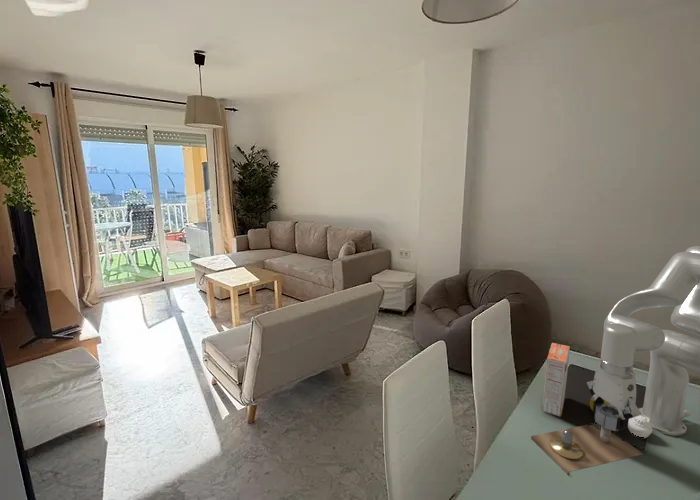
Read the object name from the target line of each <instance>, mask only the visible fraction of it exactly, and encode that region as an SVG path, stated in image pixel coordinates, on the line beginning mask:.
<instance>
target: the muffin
mask: <svg viewBox="0 0 700 500" xmlns="http://www.w3.org/2000/svg"><path fill="white" fill-rule="evenodd" d="M627 429H628V430H629V432H630V433H631V434H632V433H633V434H634V435H633V434H632V435H633V436H635V435H636V436H635V437H637V436H639V437H644V438H643V439H647V438H648V437H650V435H651V434H652V433H653V427H651V426H650V425H649V423H648V420H647V419H646V418H645V417H643V416H641V415H640V416H637V417H633V418H629V421H628V427H627ZM639 437H638V438H639Z"/></svg>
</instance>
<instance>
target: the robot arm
mask: <svg viewBox="0 0 700 500" xmlns="http://www.w3.org/2000/svg"><path fill="white" fill-rule="evenodd" d="M670 307H674V309H673V311H672V312H671V316H670V322H671V324H672V325H673V326H674V327H676V328H677V329H679V330H682V331H685V332H688V333H691V334H693V335H695V336H699V337H700V245H695V246H693V245H692V246H690V247H688V248H687V249H686V250H685V251H680V252H676V253H675V254H673V255H672V256H671V258H670V259H669V261H667V263H666V264H665V266H664V267H663V268H662V270H661V271H660V272H659V274H658V275H657V277H656V278H655V279H654V280H653V282H652V284H651V285H650V286H649V287H647V288H645V289H642V290H638V291H636V292H634V293H631V294H629V295H627V296H625V297H623V298H622V299H620V300H619V301H617V302H616V303H615V305H614V306H613V307H612V308H611V310H610V312H609V313H608V314H607V315H606V318H605V319H604V323H603V334H602V335H603V336H602V341H601V342H602V345H601V351H600V353H601V354H600V362H599V364H598V365H597V367H596V370H595V373H594V377H593V380H589V381H587V382H586V384H587V386H588V389H589V392H590V394H591V397H592V399H593V400H594V404H593V411H592V413H594V414H595V408H596V404H600V403H604V400H605V401H607V402H609V403H610V404H611V405H613V406H615V407H616V408H617V409H618V412H619V415H620V417H618V419H617V426H616V428H617V430H619V431H622V430H623V431H624V430H626V429H628V421H629V419H631V418H633V417H637V416H640V415H641V416H643V417H645V418H646V419H647V420H648V423H649V425H650V426H651V427H652V429H653V430H654V429H655V430H656V431H657V432H658V433H661V434H664V435H668V436H673V437H675V436H676V437H677V436H684V435H685V434H686V433H687V429H688V428H687V425H686V424H685V423H684V422H683V419H684V418H686V417H690V416H691V411H689V410H688V409H684V408H685V404H686V399H687V394H688V389H689V388H688V387H689V383H690V378H689V377H690V376H689V373H688V371H687V370H689V371H691V372H695V373H697V374H699V375H700V339H699V338H696V337H693V336H690V335H688V334H684V333H681V332H678V331H674V330H669V329H661V328H660V327H658V326H655V325H653V324H651V323H647V322H644V321H642V320H639V319H636V318H633V317H631V315H633V314H634V313H636V312H638V311H641V310H644V309H654V308H656V309H657V308H670ZM636 352H649V353H650V361H649V369H648V375H647V381H646V386H645V392H644V393H645V394H644V399H643V405H642V407H638V406H637V405H636V403H637V383H636V375H637V373H636V371H634V363H635V361H634V360H635V354H636ZM603 399H604V400H603ZM623 411H624V412H625V414H624V412H623Z"/></svg>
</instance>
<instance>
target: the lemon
mask: <svg viewBox="0 0 700 500" xmlns="http://www.w3.org/2000/svg"><path fill="white" fill-rule="evenodd" d="M603 400H604V399H603ZM604 403H607V404H610V403H609V402H607V401H605V400H604ZM593 404H594V400H593V399H592V396H591V397H590V399H589V407H590V409H591V411H592V412H593Z"/></svg>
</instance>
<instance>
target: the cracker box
mask: <svg viewBox="0 0 700 500" xmlns="http://www.w3.org/2000/svg"><path fill="white" fill-rule="evenodd" d="M570 348H571V347H570V346H569V345H565V344H560V343H555V342H552V343H551V345H550V348H549V352H548V354H547V358H546V365H545V366H546V367H545V368H546V369H545V379H544V387H543V400H542V412H543V413H544V412H546V413H547V414H550V415H554V416H556V417H560V418H562V414H563V409H564V403H565V397H566V387H567V378H568V368H569V359H570Z"/></svg>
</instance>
